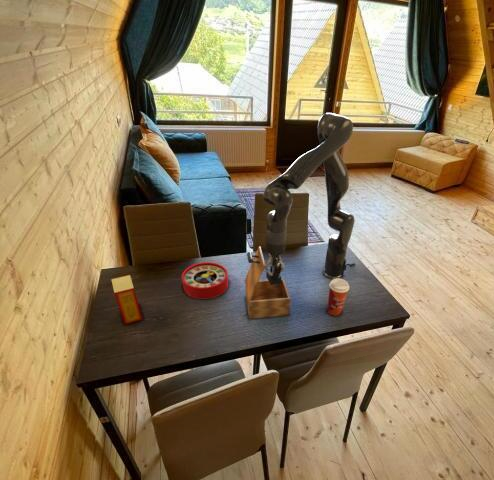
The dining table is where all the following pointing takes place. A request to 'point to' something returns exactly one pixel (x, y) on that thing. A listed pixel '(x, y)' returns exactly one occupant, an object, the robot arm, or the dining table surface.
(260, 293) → the chest
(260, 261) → the lid
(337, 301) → the coffee cup
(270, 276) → the watch
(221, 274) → the toy clock
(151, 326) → the dining table surface
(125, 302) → the baking soda box
